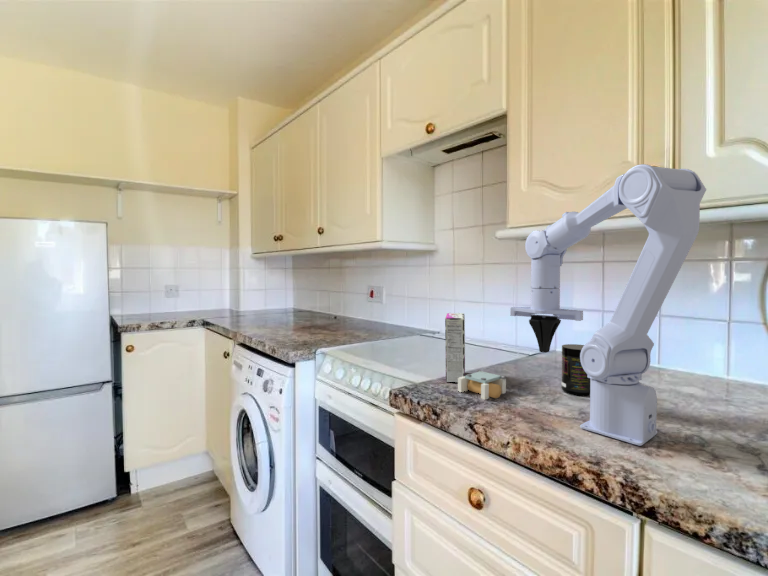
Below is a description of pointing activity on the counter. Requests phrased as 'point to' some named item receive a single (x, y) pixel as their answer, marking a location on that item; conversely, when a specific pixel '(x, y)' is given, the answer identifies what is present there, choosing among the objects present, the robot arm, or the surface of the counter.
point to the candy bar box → (455, 346)
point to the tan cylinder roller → (493, 388)
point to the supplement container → (574, 371)
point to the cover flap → (482, 377)
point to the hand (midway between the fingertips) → (544, 351)
